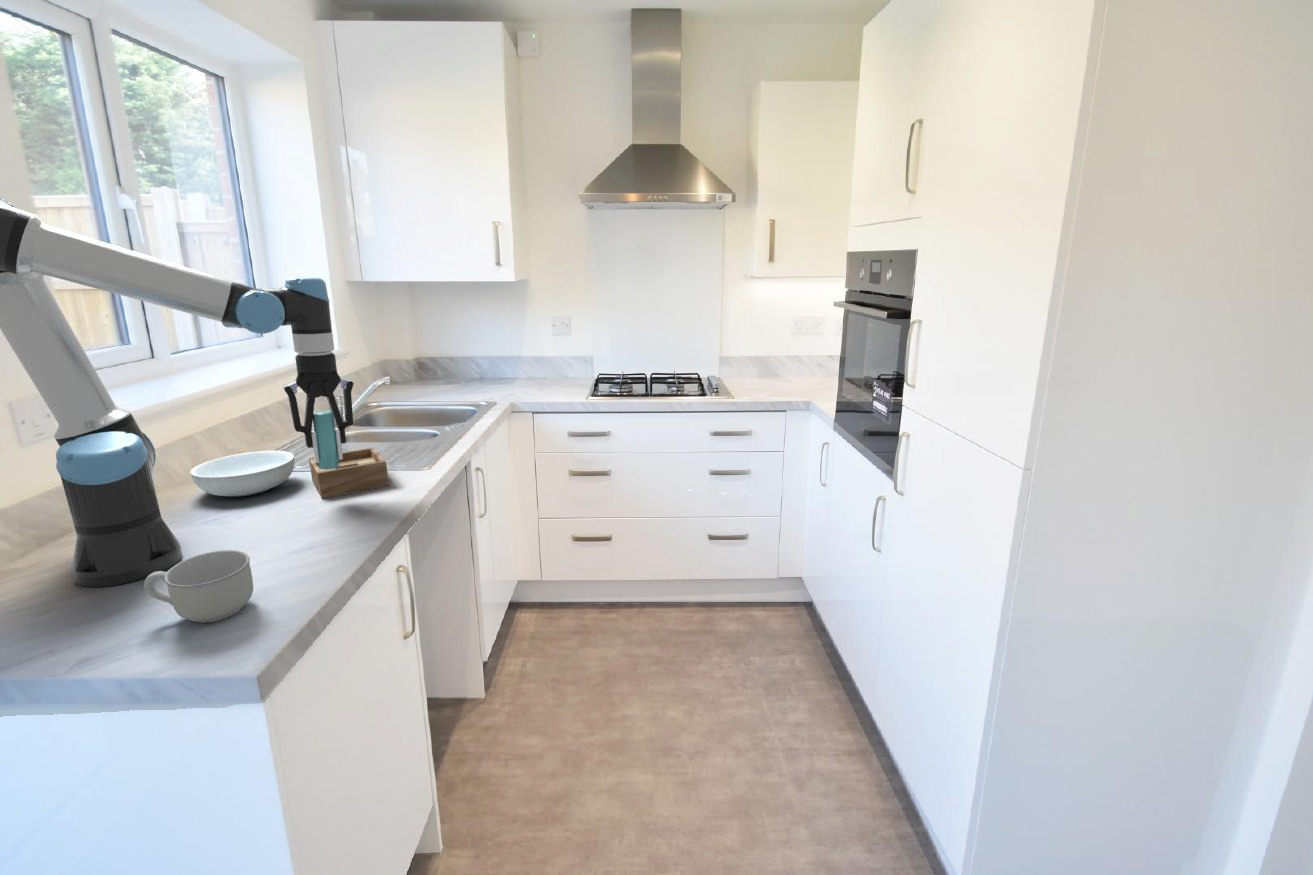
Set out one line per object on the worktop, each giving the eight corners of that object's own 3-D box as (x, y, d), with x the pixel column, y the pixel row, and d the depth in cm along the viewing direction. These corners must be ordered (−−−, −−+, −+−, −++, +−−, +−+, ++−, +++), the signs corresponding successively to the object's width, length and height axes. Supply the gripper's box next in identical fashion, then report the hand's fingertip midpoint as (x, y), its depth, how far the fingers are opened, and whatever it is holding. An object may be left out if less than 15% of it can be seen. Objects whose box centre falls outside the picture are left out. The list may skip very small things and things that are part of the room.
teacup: (271, 593, 106) (263, 548, 104) (232, 630, 96) (221, 581, 93) (184, 596, 106) (173, 551, 103) (134, 634, 95) (121, 584, 93)
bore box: (389, 485, 156) (386, 461, 155) (321, 498, 148) (317, 473, 147) (375, 470, 168) (372, 447, 166) (312, 481, 160) (308, 458, 158)
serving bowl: (294, 470, 169) (290, 445, 167) (302, 494, 152) (297, 465, 150) (197, 486, 158) (191, 459, 156) (194, 513, 141) (187, 483, 139)
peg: (340, 467, 144) (334, 414, 141) (320, 470, 142) (313, 416, 139) (337, 463, 147) (331, 410, 144) (317, 465, 145) (310, 412, 142)
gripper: (355, 348, 146) (366, 450, 152) (266, 353, 136) (282, 461, 142) (361, 352, 140) (373, 457, 146) (270, 357, 130) (286, 470, 136)
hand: (328, 459), depth 144 cm, fingers closed on peg, 4 cm apart
